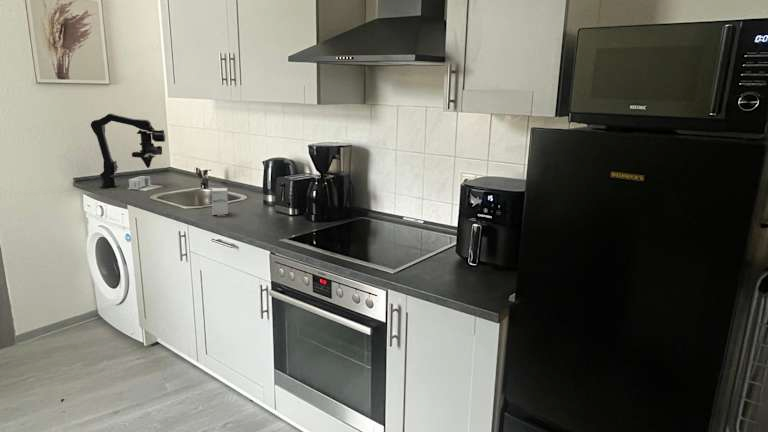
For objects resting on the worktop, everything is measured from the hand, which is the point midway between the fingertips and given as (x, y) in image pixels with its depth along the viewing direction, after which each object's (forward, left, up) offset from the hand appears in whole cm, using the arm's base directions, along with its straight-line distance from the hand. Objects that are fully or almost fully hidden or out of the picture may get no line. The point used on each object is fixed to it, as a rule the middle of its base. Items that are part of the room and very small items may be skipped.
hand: (148, 167), depth 309 cm
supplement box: (+76, -37, -12) cm, 85 cm away
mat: (0, -3, -12) cm, 12 cm away
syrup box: (-1, -12, -9) cm, 15 cm away
